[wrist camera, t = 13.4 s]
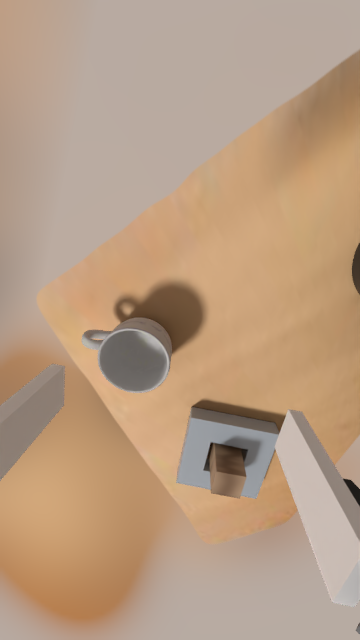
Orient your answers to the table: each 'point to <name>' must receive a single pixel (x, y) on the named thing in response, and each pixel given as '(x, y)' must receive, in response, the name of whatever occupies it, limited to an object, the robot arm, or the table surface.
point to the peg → (226, 470)
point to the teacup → (132, 354)
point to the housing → (230, 431)
